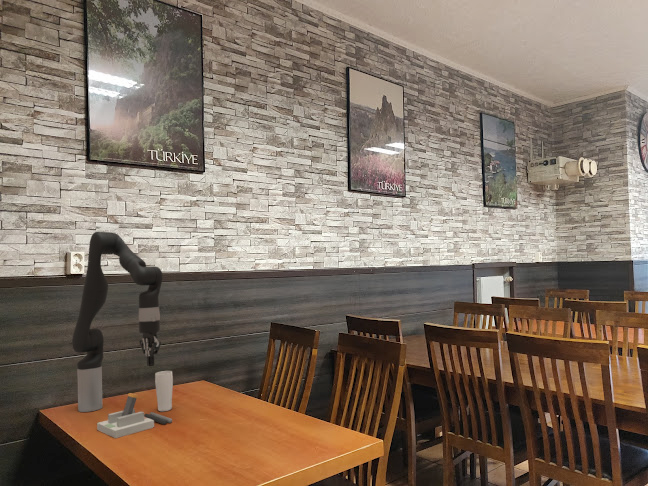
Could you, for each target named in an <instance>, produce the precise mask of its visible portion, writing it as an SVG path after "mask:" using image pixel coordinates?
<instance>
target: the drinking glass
mask: <svg viewBox="0 0 648 486" xmlns="http://www.w3.org/2000/svg"><path fill="white" fill-rule="evenodd" d="M173 379H174V377H173V370H164V371H157V372H155V374H154V380H155V381H154V383H155V393H156V401H157V410H158V412H168V411H171V410H172V409H173V402H172V401H173V384H174V380H173Z"/></svg>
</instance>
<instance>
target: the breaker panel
mask: <svg viewBox="0 0 648 486" xmlns="http://www.w3.org/2000/svg"><path fill="white" fill-rule="evenodd" d="M123 411H124V409H123V410H120V411H117V412H111V413H107V420H103V421H100V422H97V424H96V426H97V427H96V429H97V431H99V432H100V433H103V434H105V435H107V436H109V437H112V438H114V439H117V438H121V437H126V436H129V435H133V434H136V433H139V432H143V431H146V430H150V429H153V427H154V428H155V421H154V420H152V419H149V418H147V417H144V415H145V412H144V411H138V412H136V410H135V408H134V409H133V412H132V414H129V415H125V416H122V414H123ZM121 416H122V417H121Z"/></svg>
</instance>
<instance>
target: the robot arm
mask: <svg viewBox="0 0 648 486" xmlns="http://www.w3.org/2000/svg"><path fill="white" fill-rule="evenodd" d="M88 246H89V247H88V257H87V258H88V259H87V260H88V261H87V267H86V274H85V279H84V286H83V290H82V295H81V301H80V302H81V303H80V309H79V312H78V317H77V321H76V325H75V327H74V332H73V334H72V339H71V340H72V341H71V343H72V344H71V346H72V349H73V351H74V352H75V353H78V354H79V353H80V354H81V353H86V355H85V356H84V357H83V358H81V359H80V360H79V361H78V362H77V364H76V365H77V366H76V367H77V373H76V374H77V411H78V412H80V413H87V412H88V413H89V412H93V411H98V410H101V409H103V373H102V372H103V368H102V365H103V359H104V343H105V342H104V335H103V332H102V330H101V329H99V328H91V326H92V324H93V323H92V322H93V320H94V319H95V317H96V316H97V314H98V313H99V312H100V310H101V309H102V308H103V306H104V305H105V303H106V300H107V297H108V290H109V283H108V280H107V277H106V275H105V274H104V271H103V269H102V265H101V264H102V255H114V256H117V257H118V263H119V264H120V266H121V267H122V268H123V270H125V272H127V273H129V275H130V277H131V279H132V281H133V283H135V284H136V285H138V286H148V287H147V290H145V291H142V292H140V293H139V294H138V332H139V334H142V335H141V337H142V339H140V340H139V341H138V342H139V345H140V348H141V351H142V353H143V355H145V357H146V366H147V367H154V366H155V355H158V354H159V350H160V348H161V345H162V342H161V341H160V340H158V332H160V331H161V319H160V318H161V316H160V314H161V313H160V306H159V305H160V304H159V303H160V302H159V295H160V292H161V291H160V290H161V286H162V283H163V279H164V278H163V271H162V270H161V268H159V267H158V266H147V264H146V262H145V260H144V259H142V258H141V257H140V256H138V255H137V254H136V253H135V252H133V251H132V250H131V249H130V247H129V246H128V244H127V243H126V242H125V241H124V240H123V238H122V237H121V236H120V235H119V234H118V233H116V232H112V231H111V232H108V231H95V232H93V233H92V234H91V236H90V240H89V245H88Z"/></svg>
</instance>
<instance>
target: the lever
mask: <svg viewBox="0 0 648 486" xmlns="http://www.w3.org/2000/svg"><path fill="white" fill-rule="evenodd" d="M138 397H139V395H138V394H135V393H130V392H129V393H128V394H127V399H126V402H125V406H124V408H123V410H124V411H123V410H122V411H123V414H122V416H125V415H129V414H132V412H133V409H135V405H136V402H137V399H138ZM122 416H121V417H122Z"/></svg>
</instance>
